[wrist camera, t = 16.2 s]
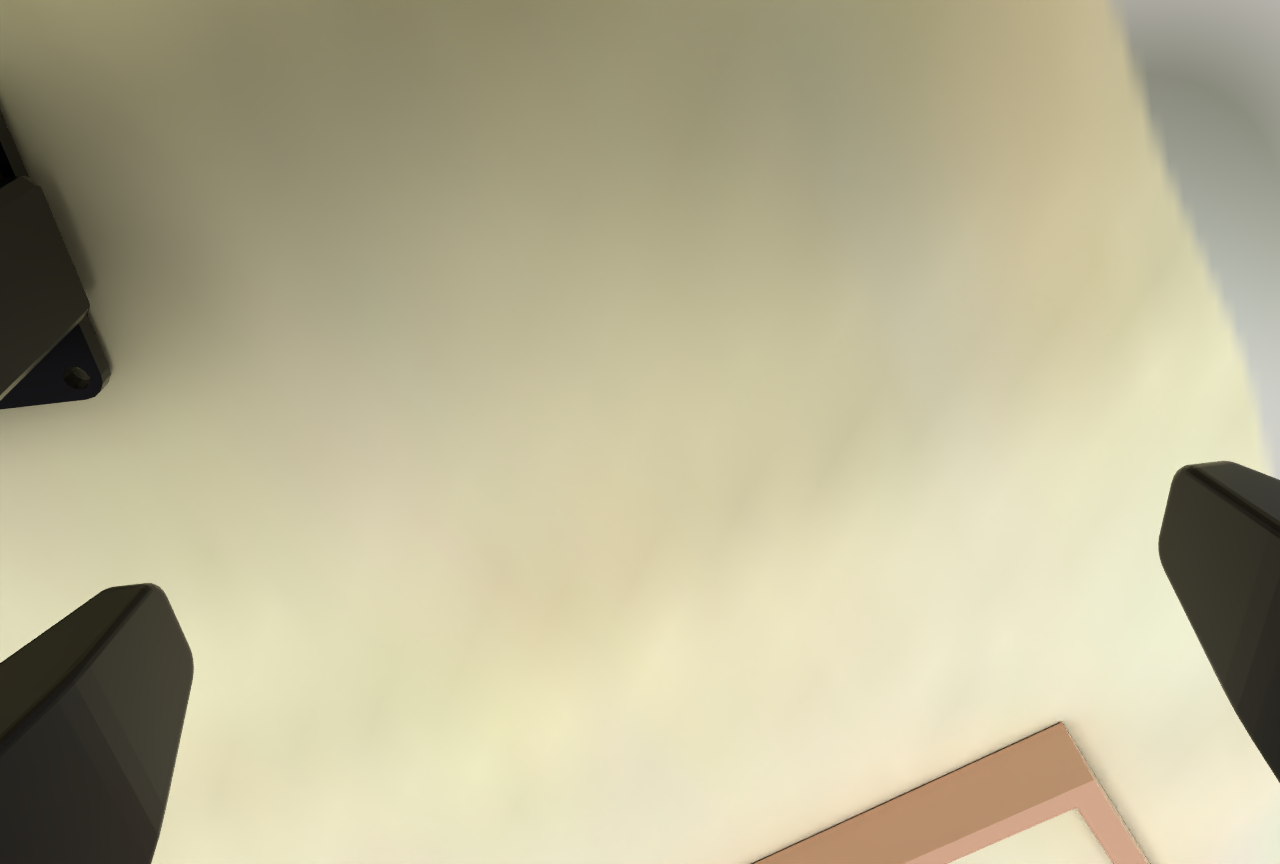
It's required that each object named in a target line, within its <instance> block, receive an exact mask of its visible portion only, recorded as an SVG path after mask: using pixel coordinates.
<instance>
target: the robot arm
mask: <svg viewBox="0 0 1280 864" xmlns="http://www.w3.org/2000/svg"><path fill="white" fill-rule="evenodd" d="M89 307H90V304H89V301H88V298H87V296H86V294H85V291H84V289H83V286H82V284H81V282H80V279H79V277H78V275H77V272H76V270H75V267H74V265H73V263H72V260H71V258H70V255H69V253H68V251H67V248H66V246H65V244H64V241H63V239H62V236H61V234H60V232H59V229H58V227H57V224H56V222H55V220H54V217H53V215H52V213H51V210H50V208H49V205H48V203H47V201H46V198H45V196H44V193H43V191H42V189H41V187H40V186H39V185H37V184H36V183H35V182H33V181H32V180H31V179H30V178H29V176H28V174H27V171H26V169H25V167H24V164H23V162H22V160H21V157H20V155H19V153H18V150H17V148H16V145H15V143H14V141H13V138H12V136H11V134H10V131H9V129H8V127H7V124H6V122H5V119H4V117H3V115H2V112H1V110H0V409H7V408H16V407H24V406H33V405H42V404H51V403H60V402H69V401H77V400H86V399H89V398H92V397H95V396H96V395H97V394H98V393H99V392H100V391H101V390H102V389H103V388H104V387H105V385H106V384H107V383H108V382H109V378H110V375H111V374H110V369H109V365H108V363H107V360H106V358H105V356H104V353H103V351H102V349H101V346H100V344H99V341H98V339H97V337H96V334H95V332H94V330H93V327H92V325H91V323H90V320H89V318H88V315H87V313H86V312H87V311H88V309H89ZM72 367H79V368H80V369H82V370H84V371H85V372H86V373H87V374H88V376H89V378H90V380H85V379H81V378H79V377H78V376H76V375H75V373H74V372H73V371H72ZM1159 556H1160V560H1161V563H1162V566H1163V569H1164V571H1165V573H1166V575H1167V577H1168V579H1169V581H1170V583H1171V585H1172V587H1173V589H1174V591H1175V593H1176V595H1177V597H1178V599H1179V601H1180V603H1181V605H1182V607H1183V609H1184V611H1185V613H1186V615H1187V617H1188V619H1189V621H1190V623H1191V625H1192V627H1193V629H1194V631H1195V633H1196V635H1197V637H1198V639H1199V641H1200V644H1201V646H1202V648H1203V650H1204V652H1205V654H1206V656H1207V658H1208V660H1209V662H1210V664H1211V666H1212V668H1213V670H1214V672H1215V674H1216V676H1217V678H1218V680H1219V682H1220V684H1221V686H1222V688H1223V690H1224V692H1225V694H1226V695H1227V697H1228V699H1229V701H1230V703H1231V705H1232V707H1233V708H1234V710H1235V712H1236V714H1237V715H1238V717H1239V719H1240V720H1241V722H1242V724H1243V725H1244V727H1245V729H1246V730H1247V732H1248V734H1249V735H1250V737H1251V739H1252V740H1253V742H1254V743H1255V745H1256V746H1257V748H1258V750H1259V751H1260V753H1261V754H1262V756H1263V757H1264V759H1265V761H1266V762H1267V764H1268V765H1269V767H1270V768H1271V770H1272V771H1273V773H1274V775H1275V776H1276V778H1277V779H1278V781H1279V782H1280V480H1278V479H1276V478H1273V477H1271V476H1268V475H1265V474H1263V473H1260V472H1258V471H1255V470H1252V469H1250V468H1247V467H1245V466H1242V465H1239V464H1237V463H1234V462H1229V461H1218V462H1209V463H1201V464H1192V465H1186V466H1184V467H1182V468H1180V469H1179V470H1178V471H1177V472H1176V474H1175V475H1174V477H1173V480H1172V483H1171V488H1170V492H1169V496H1168V501H1167V505H1166V509H1165V514H1164V518H1163V522H1162V527H1161V531H1160V535H1159ZM193 670H194V666H193V657H192V653H191V650H190V647H189V645H188V642H187V640H186V638H185V636H184V634H183V631H182V629H181V627H180V625H179V622H178V620H177V618H176V616H175V613H174V611H173V609H172V607H171V605H170V602H169V600H168V598H167V596H166V594H165V593H164V591H163V590H162V589H161V588H160V587H159V586H157V585H155V584H152V583H143V584H134V585H125V586H116V587H111V588H108V589H105V590H103V591H102V592H100V593H99V594H97V595H96V596H94V597H93V598H92V599H90V600H89V601H87V602H86V603H85V604H83V605H82V606H80V607H79V608H78V609H76V610H75V611H73V612H72V613H70V614H69V615H68V616H66V617H65V618H63V619H62V620H61V621H59V622H58V623H56V624H55V625H54V626H52V627H51V628H49V629H48V630H46V631H45V632H44V633H42V634H41V635H39V636H38V637H37V638H35V639H34V640H32V641H31V642H30V643H28V644H27V645H25V646H24V647H22V648H21V649H20V650H18V651H17V652H15V653H14V654H13V655H11V656H10V657H8V658H7V659H6V660H4V661H3V662H1V663H0V864H151V862H152V859H153V855H154V852H155V849H156V845H157V842H158V839H159V835H160V831H161V827H162V823H163V818H164V814H165V810H166V805H167V801H168V796H169V791H170V786H171V781H172V777H173V772H174V767H175V762H176V757H177V753H178V748H179V743H180V738H181V733H182V728H183V724H184V719H185V714H186V709H187V704H188V700H189V695H190V690H191V685H192V680H193Z"/></svg>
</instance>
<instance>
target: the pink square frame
mask: <svg viewBox="0 0 1280 864" xmlns="http://www.w3.org/2000/svg"><path fill="white" fill-rule="evenodd" d="M1074 808H1077V809H1078V811H1079V812H1080V814H1081V815H1082V817H1083V818H1084V820H1085V821H1086V823H1087V824H1088V826H1089V827H1090V829H1091V830H1092V832H1093V833H1094V835H1095V836H1096V838H1097V839H1098V841H1099V843H1100V844H1101V846H1102V847H1103V849H1104V850H1105V852H1106V853H1107V855H1108V856H1109V858H1110V859H1111V861H1112V862H1113V864H1150V863H1149V861H1148V859H1147V858H1146V856H1145V855H1144V853H1143V851H1142V850H1141V848H1140V847H1139V845H1138V843H1137V842H1136V840H1135V839H1134V837H1133V835H1132V834H1131V832H1130V831H1129V829H1128V827H1127V826H1126V824H1125V823H1124V821H1123V819H1122V818H1121V816H1120V815H1119V813H1118V811H1117V810H1116V808H1115V807H1114V805H1113V803H1112V802H1111V800H1110V799H1109V797H1108V795H1107V794H1106V792H1105V791H1104V789H1103V787H1102V786H1101V784H1100V783H1099V781H1098V779H1097V778H1096V776H1095V775H1094V773H1093V771H1092V770H1091V768H1090V767H1089V765H1088V763H1087V762H1086V760H1085V759H1084V757H1083V755H1082V754H1081V752H1080V751H1079V749H1078V747H1077V746H1076V744H1075V743H1074V741H1073V739H1072V738H1071V736H1070V735H1069V733H1068V731H1067V730H1066V728H1065V727H1064V725H1063V723H1059V724H1057V725H1055V726H1053V727H1051V728H1048V729H1046V730H1044V731H1042V732H1040V733H1038V734H1035V735H1033V736H1031V737H1029V738H1027V739H1024V740H1022V741H1020V742H1018V743H1016V744H1014V745H1011V746H1009V747H1007V748H1005V749H1003V750H1000V751H998V752H996V753H994V754H992V755H990V756H987V757H985V758H983V759H981V760H979V761H976V762H974V763H972V764H970V765H968V766H966V767H963V768H961V769H959V770H957V771H955V772H952V773H950V774H948V775H946V776H944V777H942V778H939V779H937V780H935V781H933V782H931V783H928V784H926V785H924V786H922V787H920V788H918V789H915V790H913V791H911V792H909V793H907V794H904V795H902V796H900V797H898V798H896V799H894V800H891V801H889V802H887V803H885V804H883V805H880V806H878V807H876V808H874V809H872V810H870V811H867V812H865V813H863V814H861V815H859V816H856V817H854V818H852V819H850V820H848V821H846V822H843V823H841V824H839V825H837V826H835V827H832V828H830V829H828V830H826V831H824V832H822V833H819V834H817V835H815V836H813V837H811V838H808V839H806V840H804V841H802V842H800V843H798V844H795V845H793V846H791V847H789V848H787V849H784V850H782V851H780V852H778V853H776V854H774V855H771V856H769V857H767V858H765V859H763V860H760V861H758V862H756V863H754V864H947V863H950V862H952V861H954V860H957V859H959V858H961V857H964V856H966V855H968V854H970V853H973V852H975V851H977V850H980V849H982V848H984V847H987V846H989V845H991V844H993V843H996V842H998V841H1000V840H1003V839H1005V838H1007V837H1010V836H1012V835H1014V834H1016V833H1019V832H1021V831H1023V830H1026V829H1028V828H1030V827H1033V826H1035V825H1037V824H1039V823H1042V822H1044V821H1046V820H1049V819H1051V818H1053V817H1056V816H1058V815H1060V814H1062V813H1065V812H1067V811H1069V810H1072V809H1074Z"/></svg>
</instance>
